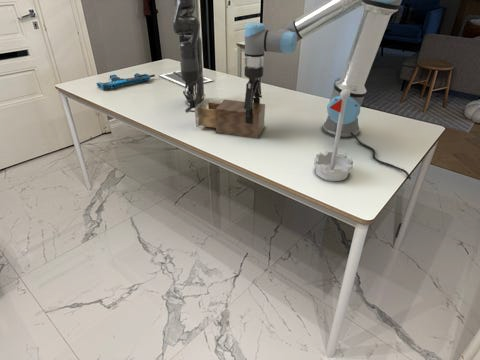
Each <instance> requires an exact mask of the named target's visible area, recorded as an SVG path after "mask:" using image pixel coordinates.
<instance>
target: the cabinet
mask: <svg viewBox="0 0 480 360" xmlns="http://www.w3.org/2000/svg"><path fill="white" fill-rule="evenodd" d="M219 103H220V104H219V105H218V107H217V108H216V109H215V113H216V128H215V133H216V134H223V135H229V136H230V135H231V136H239V137H245V138H254V139H258V138H259V137H260V135H261V133H262V132H263V131H264V128H265V117H266V116H265V115H266V103H261V102H260V103H253V105H252V108H253V117H252V124H248V123H246V109H244V105H245V101H241V100H232V99H223V100H222V101H221V102H219Z"/></svg>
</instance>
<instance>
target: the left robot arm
mask: <svg viewBox="0 0 480 360" xmlns="http://www.w3.org/2000/svg"><path fill="white" fill-rule="evenodd" d="M173 7H174V16H173V20H172V31H173V33H174V34H175V35H176V36H177V38H178V39H177V40H178V50H179V56H180V57H179V58H180V64H179V65H180V71H181V75H182V77H181V76H180V75H178V74H177V73H175V72H176V71H172V72H173V73H175V74H176V75H178V76H179V77H181V78H182V80H183V81H185V87H184V88H185V90H183V91H182V94H183V96H184V97H185V99H186V104H187V105H188V106H190V107H191V108H193V109H195V107H197V106H198V105H199V104H200V103H201V102H202V101H203V100H206V99H205V98H206V93H205V83H204V82H203V77H204V71H203V69H204V68H203V45H202V42H203V41H202V37H201V36H200V35H199V33H200V29H201V22H200V19H199V17H197V16H196V15H194V13H195V11H196V0H173Z"/></svg>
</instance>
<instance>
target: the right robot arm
mask: <svg viewBox="0 0 480 360" xmlns="http://www.w3.org/2000/svg"><path fill="white" fill-rule="evenodd" d="M402 1H403V0H326V1H324V2H322V3H321V4H319V5H317V6H316V7H313V8H312V9H311V10H309V11H307V12H305V13H304V14H303V15H301V16H299V17H297V18H296V19H294V20H292V21H291V22H289V23H287V24H285V25H283V26H282V27H281V28H280V29H278V30H273V29H271V30H270V29H266V25H265V24H264V23H262V22H249V23H247V24H246V25H245V28H244V56H243V60H244V77H245V78H248V81H247V83H246V84H245V87H246V88H245V98H244V102H245V105H244V109H246V123H248V124H252V117H253V108H252V105H253V103H260V104H261V99H262V98H263V95H262V84H261V78H263V76H264V66H265V52H267V53H276V54H277V53H279V54H293V53H295V52H296V49H297V44H298V42H299V41H301V40H302V39H304V38H306V37H307V36H309V35H311V34H313V33H315V32H317V31H318V30H320V29H322V28H324V27H326V26H328V25H329V24H331V23H333V22H335V21H336V20H339V19H340V18H342V17H344V16H345V15H347V14H349V13H351V12H353V11H354V10H357V9H358V8H361V7H362V6H363V9H364V10H363V13H362V16H361V19H360V22H359V25H358V28H357V31H356V33H355V37H354V40H353V43H352V46H351V48H350V52H349V55H348V58H347V61H346V63H345V67H344V69H343V72H342V74H341V75H342V76H339V77H336V78H335V79H334V82H333V84H332V85H333V86H332V87H333V88H332V93H331V96H330V99H329V100H328V101H329V102H328V103H327V105H326V107H327V108H326V111H327V117H326V120H325V121H324V123H323V126H322V130H323V132H324V133H325V134H326V135H329V136H332V137H336V131H337V125H338V119H339V113H340V112H337V111H335V110H333V109H331V108H329V107H331V106H332V105H334V104H335V103H337V102H338V101H340V100H341V99H342V98H341V96H340V93H341V91H342V90H344V89H347V90H349V92H350V96H349V98H347V101H346V107H345V113H344V118H343V124H342V130H341V135H340V139H341V138H342V139H349V138H354V139H355V141H356V142H357V143H358V144H360V145H361V146H363V147H365V148H367V149H369V150H371V152H372V159H373V160H374V161H376V162H377V163H379V164H382V165H385V166H389V167H391V168H393V169H396V170H398V171H401V172H403V173H404V174H405V175H406V177H407V179H408V180H412V177H411V175H410V174H409V172H408V171H407V170H405V169H404V168H402V167H399V166H396V165H394V164H391V163H388V162H387V161H386V162H385V161H383V160H381V159H378V158H377V157H376V150H375V149H374V148H372V147H371V146H370V145H367V144H365V143H363V142H362V141H360V140H359V138H358V137H357V135H359V132H360V125H359V118H358V117H359V115H360V113H361V107H362V104H363V101H364V100H365V97H366V93H367V88H366V87H365V85H366V82H367V79H368V77H369V74H370V72H371V69H372V66H373V64H374V61H375V58H376V56H377V53H378V50H379V48H380V45H381V42H382V40H383V37H384V34H385V32H386V30H387V27H388V24H389V22H390V20H391V19H390V18H391V16H392V15H393V14H395V13H396V12H398V11H399V9H400V7H401V4H402ZM402 224H403V222H400V223H399V224H398V227H397V229H396V233H395V238H396V239H397V238H399V237H398V236H399V233H400V231H401V228H402Z"/></svg>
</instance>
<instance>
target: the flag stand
mask: <svg viewBox="0 0 480 360" xmlns="http://www.w3.org/2000/svg"><path fill="white" fill-rule="evenodd" d="M340 96H341V98H342V99H341V100H340V101H338V102H337V103H335V104H334V105H332V106H331V107H329V108H331V109H333V110H335V111H337V112H340V113H339V119H338V125H337V131H336V137H335V138H334V143H333V150H326V151H325V152H326V153H323V152H322V151H319V152H317V153H316V156H315V157H314V159H313V160H314V161H313V165H314V168H315V173H316V175H317V176H318V177H319V178H321V179H322V180H325V181H330V182H340V181H341V182H342V181H343V180H346V179H347V177H348V175H349V173H351V172H352V170H353V166H354V159H353V158H352V157H348V154H347V153H344V152H339V147H340V146H339V145H340V141H341V138H340V135H341V130H342V124H343V118H344V113H345V107H346V101H347V98H349V96H350V92H349V90H347V89H344V90H342V91H341V93H340ZM338 152H339V153H338Z"/></svg>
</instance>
